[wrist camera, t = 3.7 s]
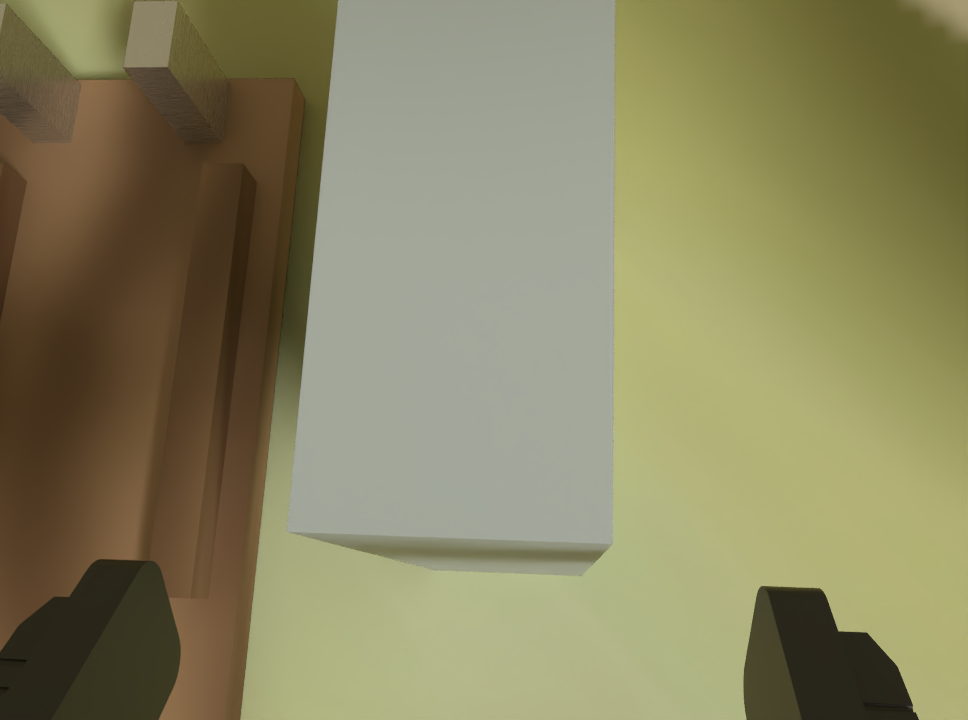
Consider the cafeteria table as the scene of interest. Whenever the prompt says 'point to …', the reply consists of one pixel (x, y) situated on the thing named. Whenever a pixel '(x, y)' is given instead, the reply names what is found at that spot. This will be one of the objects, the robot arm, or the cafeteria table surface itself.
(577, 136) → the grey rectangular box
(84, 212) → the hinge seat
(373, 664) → the cafeteria table surface
